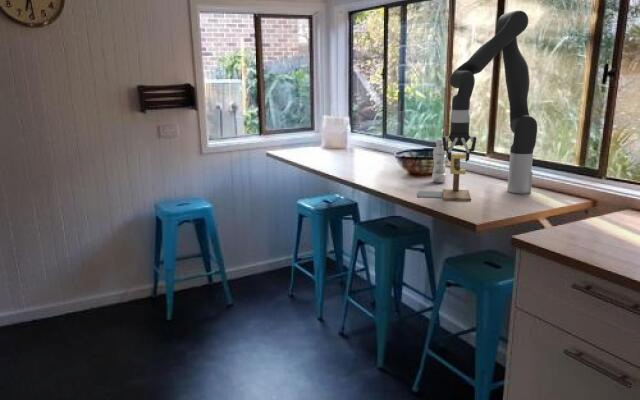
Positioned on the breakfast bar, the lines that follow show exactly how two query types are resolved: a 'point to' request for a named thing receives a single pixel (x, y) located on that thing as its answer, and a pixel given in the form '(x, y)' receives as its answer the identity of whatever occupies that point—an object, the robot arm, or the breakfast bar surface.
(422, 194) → the mat
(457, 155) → the c link
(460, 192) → the stand
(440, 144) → the plastic bottle
